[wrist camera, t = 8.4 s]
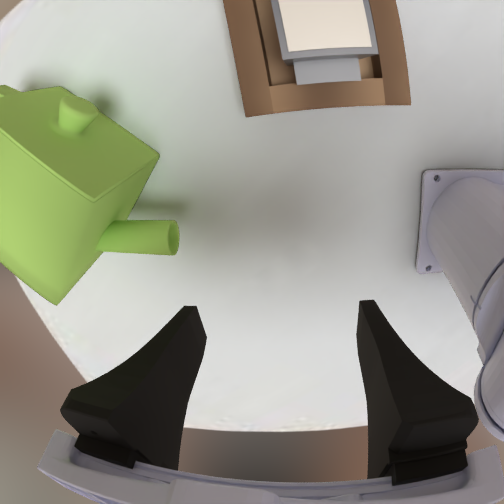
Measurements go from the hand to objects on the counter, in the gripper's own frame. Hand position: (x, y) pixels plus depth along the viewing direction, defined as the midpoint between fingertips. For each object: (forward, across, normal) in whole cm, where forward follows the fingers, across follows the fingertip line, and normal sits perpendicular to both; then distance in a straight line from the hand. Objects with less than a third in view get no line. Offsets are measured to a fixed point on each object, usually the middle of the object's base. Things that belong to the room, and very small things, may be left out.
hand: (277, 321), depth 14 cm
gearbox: (+10, +13, -7) cm, 18 cm away
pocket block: (+9, -3, -14) cm, 17 cm away
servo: (+9, -3, -14) cm, 16 cm away
